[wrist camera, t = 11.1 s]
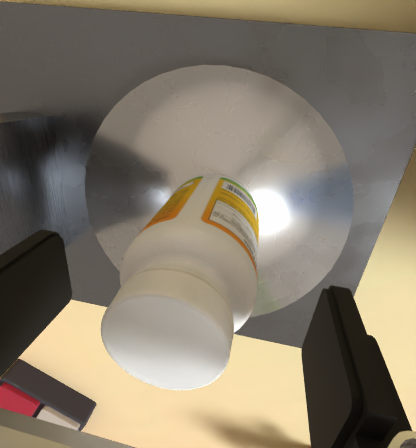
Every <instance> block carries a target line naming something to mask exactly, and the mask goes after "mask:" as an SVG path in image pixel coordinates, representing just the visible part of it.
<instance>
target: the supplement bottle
mask: <svg viewBox="0 0 416 448" xmlns="http://www.w3.org/2000/svg"><path fill="white" fill-rule="evenodd" d="M258 243H259V212H258V208H257V205H256V203H255V200H254V199H253V197H252V195H251V194H250V193H249V191H248V190H247V189H246V188H245V187H244V186H243V185H241V184H240V183H239V182H237V181H236V180H234V179H232V178H229V177H227V176H223V175H218V174H205V175H200V176H197V177H194V178H192V179H190V180H188V181H186V182H185V183H183V184H182V185H181V186H180V187H179V188H178V189H177V190H176V191H175V192H174V193H173V195H172V196H171V197H170V198H169V199H168V201H167V202H166V203H165V204H164V205H163V207H162V208H161V209H160V210H159V211H158V212H157V213H156V215H155V216H154V217H153V218H152V219H151V221H150V222H149V223H148V224H147V225H146V226H145V227H144V229H143V230H142V231H141V232H140V233H139V234H138V236H137V237H136V238H135V239H134V240H133V242H132V243H131V245H130V246H129V248H128V249H127V251H126V253H125V254H124V257H123V259H122V263H121V267H120V286H121V288H120V290H119V291H118V293H117V295H116V296H115V298H114V299H113V301H112V302H111V304H110V305H109V307H108V308H107V310H106V311H105V314H104V316H103V319H102V323H101V336H102V340H103V343H104V345H105V348H106V350H107V351H108V353H109V355H110V356H111V357H112V358H113V360H114V361H115V362H116V363H117V364H118V365H119V366H120V367H121V368H122V369H124V370H125V371H126V372H127V373H129V374H130V375H132V376H133V377H135V378H137V379H139V380H141V381H143V382H145V383H147V384H150V385H153V386H156V387H160V388H164V389H170V390H191V389H196V388H200V387H203V386H206V385H208V384H210V383H212V382H213V381H215V380H216V379H217V378H218V377H219V376H220V375H221V374H222V373H223V372H224V370H225V368H226V366H227V363H228V360H229V356H230V350H231V344H232V339H233V335H234V333H235V332H236V331H237V330H238V329H240V328H241V327H242V325H243V324H244V323H245V322H246V321H247V319H248V318H249V316H250V314H251V312H252V310H253V307H254V304H255V300H256V292H257V278H258V276H257V271H258Z"/></svg>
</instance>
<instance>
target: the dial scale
mask: <svg viewBox="0 0 416 448" xmlns="http://www.w3.org/2000/svg"><path fill="white" fill-rule="evenodd" d="M415 145H416V33H407V32H394V31H381V30H368V29H355V28H342V27H329V26H316V25H302V24H289V23H276V22H263V21H250V20H237V19H224V18H210V17H197V16H184V15H171V14H158V13H145V12H132V11H119V10H105V9H92V8H79V7H66V6H53V5H40V4H27V3H13V2H0V255H1V254H2V253H4V252H6V251H7V250H9V249H10V248H12V247H13V246H15V245H17V244H18V243H20V242H21V241H23V240H24V239H26V238H28V237H29V236H31V235H32V234H34V233H35V232H37V231H39V230H48V231H54V232H57V233H59V235H60V237H62V238H63V241H64V246H65V252H66V258H67V264H68V270H69V276H70V282H71V287H72V298H71V299H72V300H76V301H81V302H86V303H91V304H95V305H100V306H105V307H109V305H110V304H111V302H112V301H113V299H114V298H115V296H116V295H117V293H118V291H119V290H120V288H121V286H120V267H121V263H122V259H123V257H124V254H125V253H126V251H127V249H128V248H129V246H130V245H131V243H132V242H133V240H134V239H135V238H136V237H137V236H138V234H139V233H140V232H141V231H142V230H143V229H144V227H145V226H146V225H147V224H148V223H149V222H150V221H151V219H152V218H153V217H154V216H155V215H156V213H157V212H158V211H159V210H160V209H161V208H162V207H163V205H164V204H165V203H166V202H167V201H168V199H169V198H170V197H171V196H172V195H173V193H174V192H175V191H176V190H177V189H178V188H179V187H180V186H181V185H182V184H183V183H185V182H186V181H188V180H190V179H192V178H194V177H197V176H200V175H205V174H218V175H223V176H227V177H229V178H232V179H234V180H236V181H237V182H239V183H240V184H241V185H243V186H244V187H245V188H246V189H247V190H248V191H249V193H250V194H251V195H252V197H253V199H254V200H255V203H256V205H257V208H258V212H259V243H258V271H257V276H258V278H257V292H256V300H255V304H254V307H253V310H252V312H251V314H250V316H249V318H248V319H247V321H246V322H245V323H244V324H243V325H242V327H241V328H240V329H238V330H237V331H236V332H235V333H234V334H237V335H242V336H247V337H251V338H256V339H261V340H265V341H270V342H275V343H280V344H284V345H289V346H294V347H298V348H302V345H303V342H304V339H305V337H306V334H307V331H308V328H309V325H310V322H311V320H312V317H313V314H314V311H315V308H316V305H317V303H318V300H319V297H320V294H321V291H322V289H323V288H326V289H328V288H329V286H330V285H334V286H339V287H344V288H349V289H350V290H351V292H352V295H353V297H354V294H355V292H356V289H357V287H358V284H359V282H360V280H361V277H362V275H363V272H364V270H365V267H366V265H367V262H368V260H369V258H370V255H371V253H372V250H373V248H374V245H375V243H376V240H377V238H378V236H379V233H380V231H381V228H382V226H383V223H384V221H385V219H386V216H387V214H388V211H389V209H390V206H391V204H392V201H393V199H394V197H395V194H396V192H397V189H398V187H399V184H400V182H401V179H402V177H403V175H404V172H405V170H406V167H407V165H408V162H409V160H410V157H411V155H412V153H413V150H414V148H415Z"/></svg>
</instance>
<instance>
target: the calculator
mask: <svg viewBox="0 0 416 448" xmlns="http://www.w3.org/2000/svg"><path fill="white" fill-rule="evenodd" d="M95 406H96V402H94V401H93V400H91V399H89V398H87V397H86V396H84V395H82V394H80V393H79V392H77V391H75V390H73V389H72V388H70V387H68V386H66V385H65V384H63V383H61V382H59V381H58V380H56V379H54V378H52V377H51V376H49V375H47V374H45V373H44V372H42V371H40V370H38V369H37V368H35V367H33V366H31V365H30V364H28V363H26V362H24V361H23V360H20V359H18V360H17V361H16V362H15V363H14V364H13V365H12V366H11V368H10V369H9V370H8V371H7V372H6V373H5V374H4V375H3V376H2V377H1V379H0V408H3V409H6V410H10V411H13V412H16V413H20V414H23V415H27V416H30V417H34V418H37V419H40V420H44V421H47V422H51V423H54V424H57V425H61V426H64V427H68V428H71V429H74V430H78V431H81V430H82V429H83V428H84V426H85V425H86V423H87V421H88V419H89V418H90V416H91V414H92V412H93V410H94V408H95Z"/></svg>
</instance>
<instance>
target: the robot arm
mask: <svg viewBox="0 0 416 448" xmlns="http://www.w3.org/2000/svg"><path fill="white" fill-rule="evenodd" d="M71 298H72V287H71V282H70V276H69V270H68V264H67V258H66V252H65V246H64V241H63V238H62V237H60V235H59V233H57V232H54V231H48V230H39V231H37V232H35V233H34V234H32V235H31V236H29V237H28V238H26V239H24V240H23V241H21V242H20V243H18V244H17V245H15V246H13V247H12V248H10V249H9V250H7V251H6V252H4V253H2V254H1V255H0V377H1V376H2V375H3V374H4V373H5V371H6V370H7V369H8V368H9V367H10V366H11V365H12V364H13V363H14V362H15V361H16V359H17V358H18V357H19V356H20V355H21V354H22V353H23V352H24V351H25V350H26V349H27V348H28V346H29V345H30V344H31V343H32V342H33V341H34V340H35V339H36V338H37V337H38V336H39V334H40V333H41V332H42V331H43V330H44V329H45V328H46V327H47V326H48V325H49V324H50V323H51V321H52V320H53V319H54V318H55V317H56V316H57V315H58V314H59V313H60V312H61V311H62V310H63V308H64V307H65V306H66V305H67V304H68V303H69V302H70V300H71ZM302 364H303V373H304V383H305V392H306V402H307V412H308V421H309V431H310V440H311V448H416V432H413V431H412V429H411V426H410V424H409V421H408V419H407V416H406V414H405V411H404V409H403V406H402V404H401V401H400V399H399V396H398V394H397V391H396V389H395V386H394V384H393V381H392V379H391V376H390V374H389V371H388V369H387V366H386V363H385V361H384V358H383V356H382V353H381V351H380V348H379V346H378V343H377V341H376V340H375V338H374V337H373V336H371V335H367V333H366V330H365V327H364V325H363V322H362V319H361V317H360V314H359V311H358V308H357V306H356V303H355V300H354V298H353V295H352V292H351V290H350V289H349V288H344V287H339V286H334V285H330V286H329V288H328V289H326V288H323V289H322V291H321V294H320V297H319V300H318V303H317V305H316V308H315V311H314V314H313V317H312V320H311V322H310V325H309V328H308V331H307V334H306V337H305V339H304V342H303V345H302ZM0 448H135V447H132V446H128V445H125V444H122V443H118V442H115V441H112V440H108V439H105V438H101V437H98V436H95V435H91V434H88V433H85V432H81V431H78V430H74V429H71V428H68V427H64V426H61V425H57V424H54V423H51V422H47V421H44V420H40V419H37V418H34V417H30V416H27V415H23V414H20V413H16V412H13V411H10V410H6V409H3V408H0Z"/></svg>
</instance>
